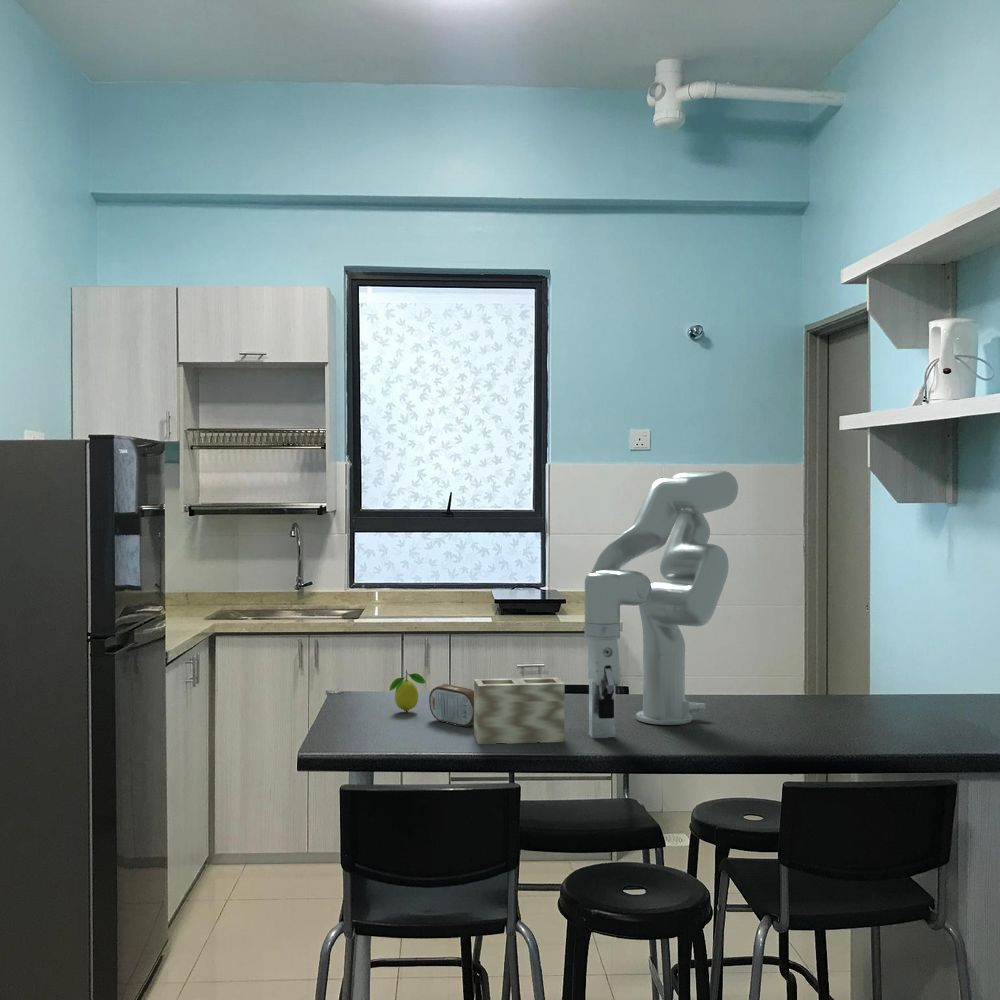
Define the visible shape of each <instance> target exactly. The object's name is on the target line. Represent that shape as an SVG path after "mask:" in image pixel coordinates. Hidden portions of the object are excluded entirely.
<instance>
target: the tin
mask: <svg viewBox="0 0 1000 1000" xmlns="http://www.w3.org/2000/svg"><path fill="white" fill-rule="evenodd" d="M428 697H429V698H428V702H429V710H430V712H431V714H432V715H433V716H432V717H433V718H434V719H435V720H437V721H438V720H439V721H438V722H440V721H443V722H442V723H444V722H448V723H451V724H450V725H453V724H456V725H455V726H457V725H460V726H459V727H461V726H464V727H463V728H469V727H472V725H473V726H474V689H471V688H468V687H462V686H456V685H452V684H448V683H443V684H441V685H438V686H435V687H434V688H432V690H431V691H430V693H429V696H428ZM448 723H447V724H448Z"/></svg>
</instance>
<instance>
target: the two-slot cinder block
mask: <svg viewBox="0 0 1000 1000" xmlns="http://www.w3.org/2000/svg"><path fill="white" fill-rule="evenodd" d="M473 691H474V725H473V736H475V737H474V738H476V739H475V741H476V742H477V745H497V744H496V743H507V744H533V743H535V744H536V743H537V742H540V743H564V742H565V683H564V682H563V681H562V680H560V678H558V677H518V678H517V677H516V678H512V677H510V678H474V679H473ZM560 741H561V742H560ZM563 741H564V742H563Z"/></svg>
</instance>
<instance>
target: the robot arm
mask: <svg viewBox="0 0 1000 1000" xmlns="http://www.w3.org/2000/svg"><path fill="white" fill-rule="evenodd" d="M738 493H739V484H738V480H737V479H736V477H735V476H734V475H733V474H732V473H731V472H729V471H726V470H707V471H705V470H703V471H702V470H701V471H695V470H693V471H692V470H691V471H684V472H679V473H677V474H674V475H673V476H670V477H669V476H668V477H660V478H658V479H657V480H655V481H654V482H653V483H652V484H651V486H650V487H649V490H648V492H647V494H646V496H645V498H644V500H643V502H642V504H641V506H640V508H639V510H638V513H637V514H636V517H635V519H634V521H633V523H632V525H631V526H630V528H628V529H627V530H625V531H624V532H623V533H621V534H620V535H619V536H617V537H616V538H614V540H613V541H612V542H610V543H609V544H608V545H606V547H605V548H604V549H603V550H602V551H601V552H600V554H599V556H598V557H597V559H596V561H595V564H594V566H593V568H592V569H591V571H590V573H588V574H587V575H586V576H585V578H584V638H585V639H588V644H587V646H588V647H587V651H588V652H587V677H588V680H589V679H592V680H593V681H594V683H595V684H596V685H598V686H599V691H600V699H599V718H600V719H609V718H614V685H615V687H618V686H619V685H620V683H621V680H620V678H621V676H620V655H619V654H620V652H619V644H618V643H619V642H618V640H619V639H620V638H621V606H623V605H624V606H631V607H632V606H638V608H639V609H638V610H639V614H640V619H641V620H640V621H641V626H642V641H643V643H642V644H643V645H642V646H643V647H642V648H643V650H642V693H643V694H642V710H640V711H638V712H636V714H635V719H636V720H637V721H639V722H642V723H646V724H651V725H657V726H658V725H660V726H675V725H676V726H677V725H686V724H689V723H691V722H692V720H693V719H692V718H693V716H692V714H693V712H697V713H699V712H700V713H701V712H706V711H707V707H706V706H707V705H706V703H705V702H696V701H695V702H693V701H692V702H691V701H689V700H687V699H686V695H685V694H686V643H685V638H684V635H683V633H682V631H681V630H680V627H679V626H685V627H698V628H699V627H702V626H705V625H707V624H708V623H709V622H710V620H711V619H712V617H713V615H714V613H715V610H716V607H717V606H718V602H719V600H720V597H721V596H722V595H721V594H722V592H723V589H724V587H725V584H726V581H727V578H728V574H729V566H730V565H729V558H728V554H727V552H726V551H725V549H724V548H722V547H721V546H720V545H717V544H714V543H708V542H709V539H710V535H711V527H710V525H709V522H708V520H707V519H706V517H705V515H704V514H707V513H711V512H714V511H718V510H722V509H725V508H727V507H730V506H731V505H732V504H733V503H734V502H735V501H736V499H737V497H738ZM671 532H672V534H671ZM670 535H671V536H670ZM669 537H670V539H669ZM668 539H669V541H668ZM667 541H668V543H667ZM666 544H667V546H666V548H665V550H664V553H663V556H662V559H661V561H660V565H659V566H660V568H659V569H660V574H661V576H662V577H663V578H664V579H665V580H667V581H655V582H651V580H650V579H649V577H648V576H647V575H646V574H644V573H643V572H641V571H636V570H624V569H623V568H624V566H626V565H627V564H628V563H630V562H631V561H634V560H635V559H637V558H639V557H642V556H645V555H648V554H650V553H652V552H654V551H657V550H660V549H661V548H663V547H664V546H665V545H666ZM602 683H607V684H602ZM603 688H605V689H604V693H603Z"/></svg>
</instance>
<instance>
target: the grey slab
mask: <svg viewBox="0 0 1000 1000" xmlns="http://www.w3.org/2000/svg"><path fill="white" fill-rule="evenodd" d="M602 684H607V683H602ZM604 689H605V688H603V693H604ZM599 699H600V691H599V686H598V685H596V684H595V683H594V681H593V680H592V679H589V678H588V736H589V735H590V736H591V737H592V738H591V737H590V736H589V737H590V738H591V739H607V738H608V737H615V738H616V686H615V685H614V718H609V719H600V718H599ZM608 739H609V738H608Z"/></svg>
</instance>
